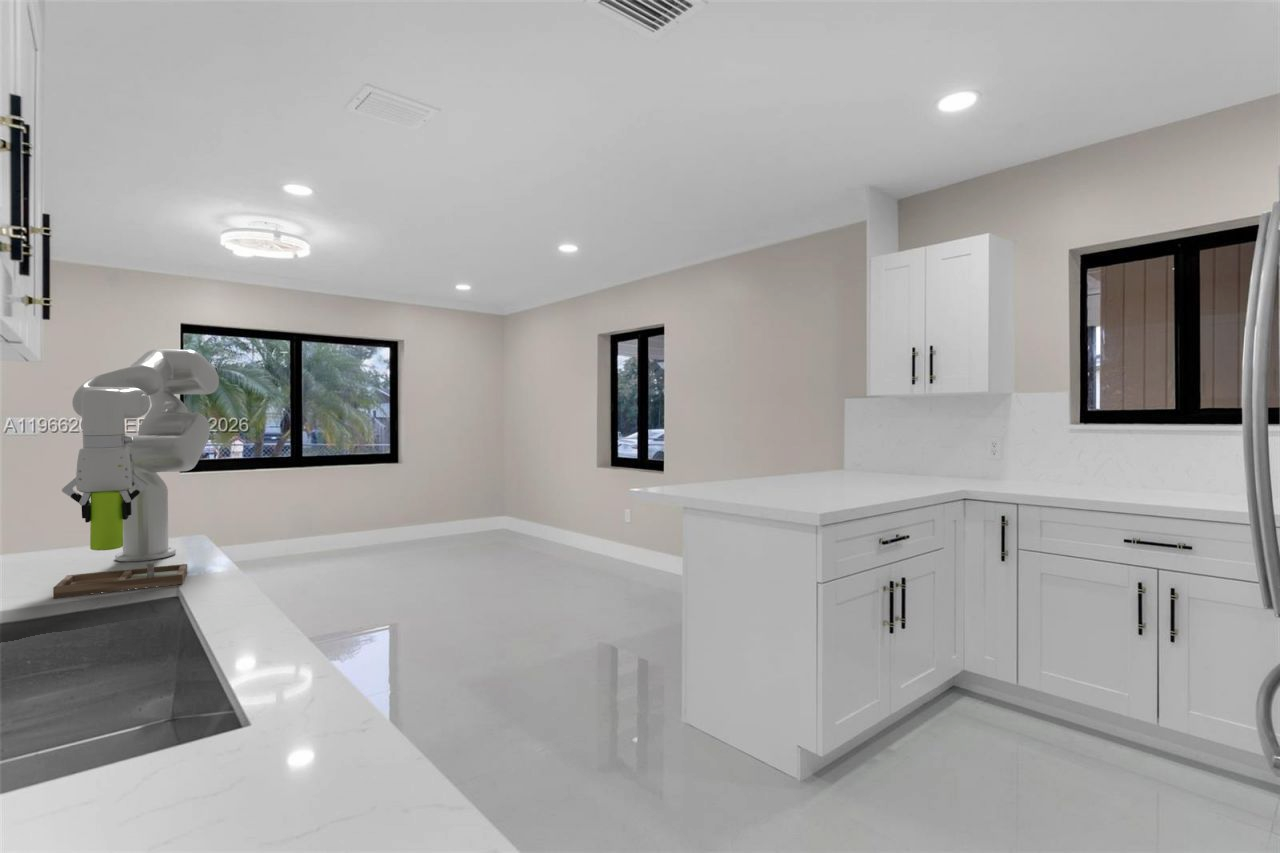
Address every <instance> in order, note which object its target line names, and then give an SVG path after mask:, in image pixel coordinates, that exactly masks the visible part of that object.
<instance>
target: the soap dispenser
mask: <svg viewBox="0 0 1280 853" xmlns="http://www.w3.org/2000/svg"><path fill="white" fill-rule="evenodd" d="M121 466H124V465H119V464H118V467H121ZM123 500H124V499H123V497H122V495H121V493H120V492H119V491H114V492H95V493H91V497H90V503H91V521H90V528H89V529H90V532H89V533H90V535H89V536H90V537H89V538H90V539H89V540H90V543H89V545H90V547H89V549H90V550H92V551H111V550H116V549H120V548H123V519H122V503H123Z"/></svg>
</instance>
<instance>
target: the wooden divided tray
mask: <svg viewBox="0 0 1280 853" xmlns="http://www.w3.org/2000/svg"><path fill="white" fill-rule="evenodd" d="M187 574H188V564H187V563H182V564H171V565H161V566H155V562H149V563H146V567H140V568H130V569H119V570H109V571H99V572H98V571H96V572H89V573H78V574H77V573H76V574H67V575H66V576H65V577H64V578H63V579H61V580H60V581H59V582H58V583H57V584H55V585H54V586H53V587H52V588H53V593H52V594H53V599H59V598H58V597H62V598H69V597H68V596H72V597H76V596H75V595H81V596H84V595H83V594H90V595H92V594H91V593H99V594H102V593H101V592H109V593H112V592H111V591H118V592H122V591H121V590H127V591H129V590H128V589H135V588H145V587H155V588H157V587H156V586H164V587H170V586H169V585H173V586H178V585H177V584H184V582H185V579H186V577H187Z"/></svg>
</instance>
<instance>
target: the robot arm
mask: <svg viewBox="0 0 1280 853" xmlns="http://www.w3.org/2000/svg"><path fill="white" fill-rule="evenodd" d="M219 383H220V378H219V375H218V372H217V370H216V368H215V367H214V366H213V365H212V364H211V362H209V360H207V359H206V358H205V356H203V355H202V353H199V352H197V351H195V350H192V349H175V348H173V349H172V348H170V349H169V348H157V349H152V350H149V351H147V352H145V353H144V354H143V355H142V356H141V357H139V358H138V359H136V361H135V362H133V363H132V364H131V365H130V366H128V367H125V368H119V369H117V370H116V369H115V370H114V371H110V372H109V371H108V372H105V373H101V374H99V375H97V376H94V377H91V378H90V379H88V380H87V381H85V382H84V383H83V384H81V385H80V386H79V387H77V390H76V391H75V393H74V394H73V397H72V402H71V403H72V407H73V410H74V412H75V413H76V415H78V416H79V417H81V426H82V428H81V429H82V448H80V449H79V451H78V455H77V460H76V474H75V475H76V476H75V478H74V479H72V480H70V482H68V483H67V484H66V485H65V486H64V487H63V488H61V492H62V493H64V494H65V495H66V496H68V497H70V498H71V499H72V500H74V501H75V502H76V503H78V504H79V505H80V506H81V518H82V519H84V521H85V523H91V493H95V492H114V491H119V492H120V493H121V495H122V497H123V499H124V500H123V503H122V519H123V546H122V551H121V552H118V553H116V554H114V558H115V560H116V561H118V562H144V560H145V561H151V560H159V559H163V558H167V557H168V558H169V557H171V556H173V555H175V554H176V553H177V552H176V551H177V549H176V548H175V547H169V501H168V500H169V497H168V496H169V491H168V490H169V489H168V486H167V484H166V483H165V481H164V480H163V479H162V477H161V476H160V475H159V474H158V473H161V472H162V473H165V472H166V473H170V472H171V473H172V472H188V471H190V470H191V471H192V469H194V468H195V467H196V465H198V462H199V461H200V459H201V456H202V455H203V452H204V451H205V448H206V446H207V444H208V442H209V438H210V435H211V433H210V432H211V426H210V422H209V420H208V418H207V417H206V416H205V415H204V414H201V413H198V412H189V411H188V407H187V406H186V404H185V403H184V402H183V401H182V400H181V399H180V398H179V397H177V396H176V395H211V394H213V393H215V392H216V391H217V390H218V387H219ZM144 415H145V416H144ZM143 416H144V418H143V420H142V422H140V425H139V428H138V433H137V434H138V435H132V436H127V434H126V430H125V429H126V426H125V424H126V423H125V419H131V420H132V419H139V418H141V417H143ZM118 464H119V465H124V466H121V467H118ZM74 487H76V490H77V491H78V492H77V491H75V490H74ZM79 492H80V493H82V495H81V494H80V493H79Z"/></svg>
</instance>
